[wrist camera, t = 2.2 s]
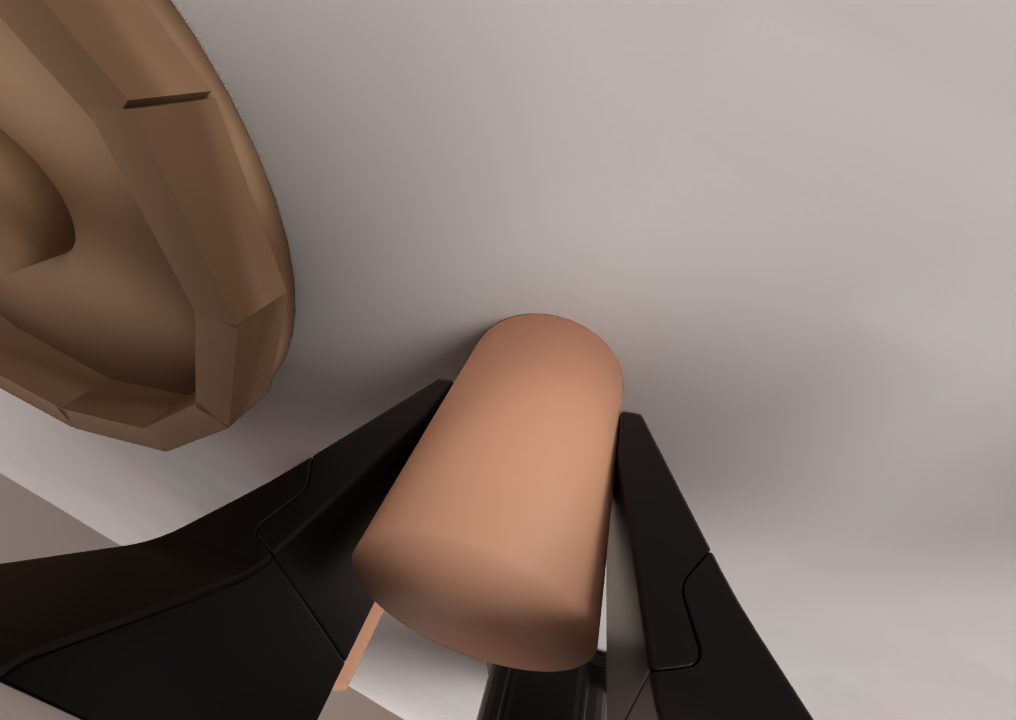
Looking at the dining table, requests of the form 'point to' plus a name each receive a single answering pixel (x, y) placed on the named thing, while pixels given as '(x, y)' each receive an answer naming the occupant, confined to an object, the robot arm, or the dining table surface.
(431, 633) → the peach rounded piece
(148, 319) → the round tray
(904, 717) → the dining table surface
